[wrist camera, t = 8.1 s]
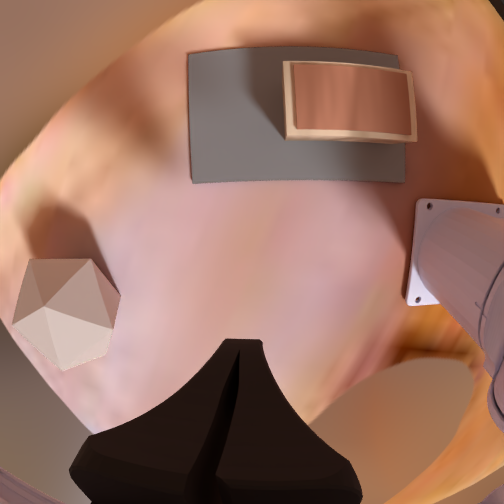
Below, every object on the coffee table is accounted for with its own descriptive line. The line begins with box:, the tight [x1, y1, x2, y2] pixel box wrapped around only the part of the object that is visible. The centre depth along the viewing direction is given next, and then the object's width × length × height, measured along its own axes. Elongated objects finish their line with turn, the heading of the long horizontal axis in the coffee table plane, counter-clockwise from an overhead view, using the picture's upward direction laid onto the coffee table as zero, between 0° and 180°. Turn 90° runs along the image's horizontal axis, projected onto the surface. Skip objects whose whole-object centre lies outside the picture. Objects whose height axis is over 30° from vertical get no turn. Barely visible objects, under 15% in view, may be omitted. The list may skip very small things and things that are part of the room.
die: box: [12, 259, 121, 371], centre depth 19 cm, size 8×9×10 cm
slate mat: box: [188, 46, 405, 184], centre depth 17 cm, size 14×9×1 cm, turn 92°
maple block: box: [282, 61, 417, 144], centre depth 15 cm, size 4×4×7 cm
